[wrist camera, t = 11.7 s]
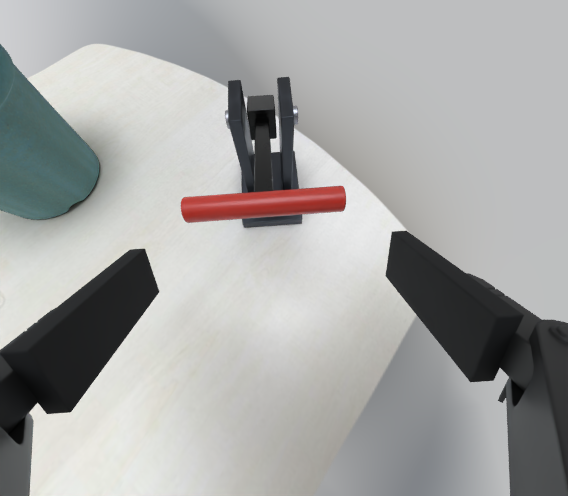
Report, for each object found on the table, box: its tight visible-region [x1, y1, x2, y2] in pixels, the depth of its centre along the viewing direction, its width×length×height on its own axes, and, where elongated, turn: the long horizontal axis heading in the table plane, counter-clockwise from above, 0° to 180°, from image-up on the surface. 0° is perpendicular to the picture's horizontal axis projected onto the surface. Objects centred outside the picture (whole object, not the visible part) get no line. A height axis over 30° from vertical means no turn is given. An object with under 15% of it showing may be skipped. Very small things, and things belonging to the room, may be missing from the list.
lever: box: [181, 95, 346, 223], centre depth 17 cm, size 13×9×2 cm
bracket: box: [225, 77, 302, 227], centre depth 25 cm, size 10×7×13 cm
